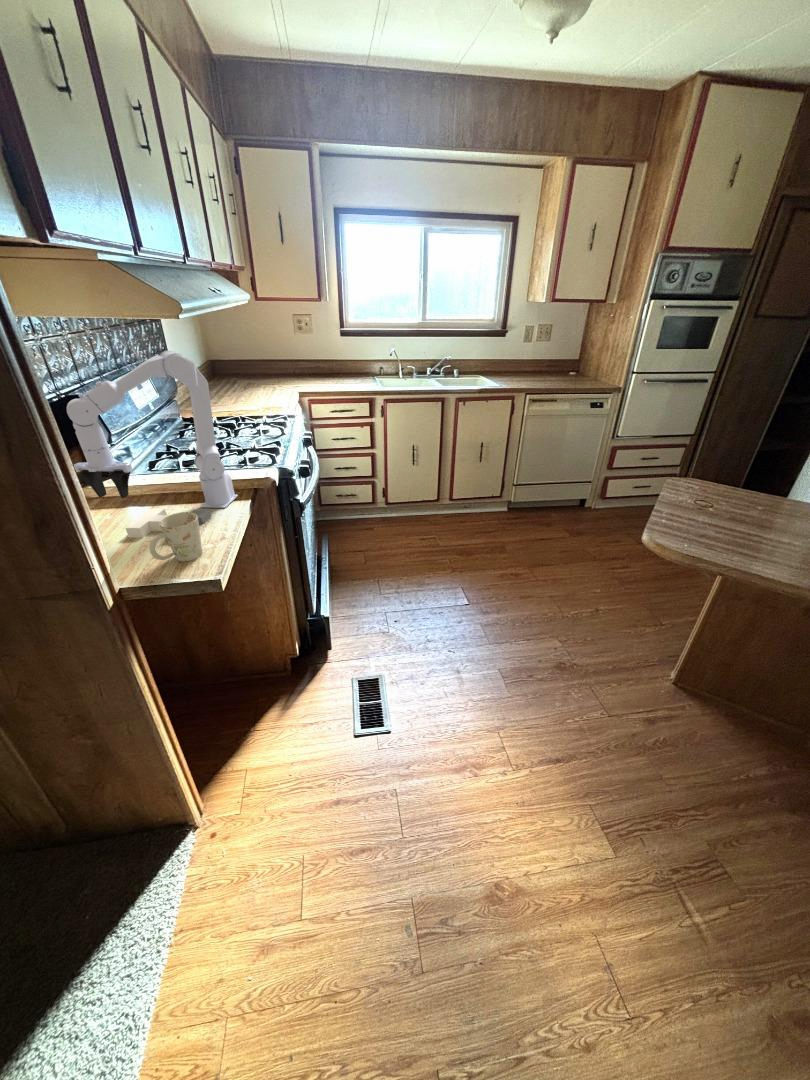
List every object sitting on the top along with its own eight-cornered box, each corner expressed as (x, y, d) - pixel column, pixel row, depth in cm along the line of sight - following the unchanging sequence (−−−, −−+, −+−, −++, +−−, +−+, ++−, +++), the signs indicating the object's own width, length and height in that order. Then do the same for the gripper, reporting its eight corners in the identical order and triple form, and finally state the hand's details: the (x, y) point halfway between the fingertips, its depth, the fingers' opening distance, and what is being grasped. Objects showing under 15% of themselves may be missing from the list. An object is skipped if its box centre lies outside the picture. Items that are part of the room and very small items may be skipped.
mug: (214, 551, 108) (204, 516, 103) (168, 576, 99) (155, 538, 94) (193, 543, 112) (183, 509, 107) (147, 566, 102) (134, 530, 97)
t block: (154, 517, 126) (151, 508, 124) (190, 518, 125) (187, 509, 123) (129, 537, 115) (125, 527, 114) (167, 538, 115) (164, 528, 113)
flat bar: (195, 515, 126) (193, 509, 125) (211, 516, 126) (209, 510, 125) (165, 541, 113) (163, 535, 112) (183, 542, 113) (181, 535, 112)
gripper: (56, 452, 107) (78, 501, 113) (111, 452, 106) (130, 502, 112) (77, 444, 113) (96, 491, 119) (129, 444, 112) (146, 492, 118)
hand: (114, 496), depth 116 cm, fingers open, 6 cm apart
